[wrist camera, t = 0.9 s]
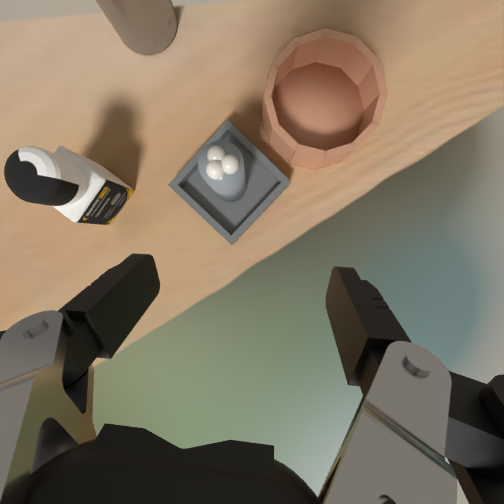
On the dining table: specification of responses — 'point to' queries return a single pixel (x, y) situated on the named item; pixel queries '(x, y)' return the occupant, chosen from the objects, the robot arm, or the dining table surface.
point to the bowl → (322, 98)
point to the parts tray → (246, 208)
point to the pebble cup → (223, 170)
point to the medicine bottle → (66, 184)
